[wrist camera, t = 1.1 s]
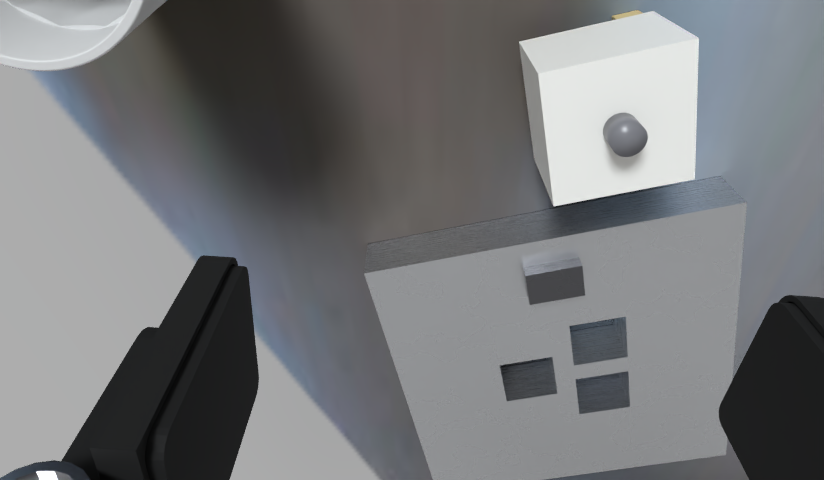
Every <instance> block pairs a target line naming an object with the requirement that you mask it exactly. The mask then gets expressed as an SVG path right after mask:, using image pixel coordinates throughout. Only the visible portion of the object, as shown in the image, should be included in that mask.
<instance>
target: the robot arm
mask: <svg viewBox="0 0 824 480" xmlns="http://www.w3.org/2000/svg"><path fill="white" fill-rule="evenodd" d="M258 380H259V375H258V364H257V355H256V345H255V335H254V325H253V315H252V305H251V296H250V286H249V276H248V270H247V267H244V266H238V264H237V261H236V259H235V258H233V257H218V256H201V257H200V258H199V259H198V261H197V262H196V264H195V266H194V268H193V269H192V271H191V273H190V274H189V276H188V278H187V280H186V281H185V283H184V285H183V287H182V288H181V290H180V292H179V294H178V296H177V297H176V299H175V301H174V303H173V304H172V306H171V307H170V309H169V311H168V313H167V315H166V316H165V318H164V320H163V321H162V323H161V325H160V327H159V328H153V327H147V328H145V329H144V330H142V331H141V333H140V334H139V335H138V337H137V338H136V340H135V342H134V343H133V345H132V346H131V348H130V350H129V351H128V353H127V354H126V356H125V358H124V360H123V361H122V363H121V364H120V366H119V368H118V369H117V371H116V373H115V374H114V376H113V377H112V379H111V381H110V382H109V384H108V386H107V387H106V389H105V391H104V392H103V394H102V395H101V397H100V399H99V400H98V402H97V404H96V405H95V407H94V409H93V410H92V412H91V414H90V415H89V417H88V418H87V420H86V422H85V423H84V425H83V427H82V428H81V430H80V431H79V433H78V435H77V436H76V438H75V440H74V441H73V443H72V445H71V446H70V448H69V449H68V451H67V453H66V454H65V456H64V458H63V459H62V461H55V460H54V461H46V462H38V463H33V464H30V465H28V466H24V467H21V468H18V469H16V470H14V471H12V472H10V473H8V474H6V475H5V476H3V477H1V478H0V480H229V479H230V476H231V473H232V470H233V467H234V464H235V461H236V458H237V454H238V451H239V448H240V445H241V442H242V439H243V436H244V432H245V429H246V426H247V423H248V420H249V417H250V414H251V411H252V407H253V404H254V401H255V398H256V395H257V390H258V382H259V381H258ZM719 420H720V424H721V426H722V428H723V430H724V432H725V434H726V436H727V438H728V439H729V441H730V443H731V445H732V447H733V449H734V451H735V453H736V455H737V457H738V459H739V460H740V462H741V464H742V466H743V468H744V470H745V472H746V474H747V476H748V478H749V479H750V480H824V298H820V297H808V296H794V295H789V296H785V297H783V298H782V299H781V300H780V301H779V302H778V303H774V304H773V305H771V307H770V308H769V310H768V312H767V314H766V316H765V318H764V320H763V322H762V324H761V325H760V327H759V329H758V331H757V333H756V335H755V337H754V339H753V341H752V343H751V345H750V347H749V349H748V351H747V353H746V355H745V357H744V359H743V361H742V363H741V365H740V367H739V368H738V370H737V372H736V374H735V376H734V378H733V380H732V382H731V384H730V386H729V388H728V390H727V392H726V394H725V396H724V398H723V400H722V402H721V404H720V407H719Z"/></svg>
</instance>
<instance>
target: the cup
mask: <svg viewBox="0 0 824 480" xmlns="http://www.w3.org/2000/svg"><path fill="white" fill-rule="evenodd" d="M166 1H167V0H0V64H1V65H5V66H9V67H13V68H18V69H24V70H33V71H56V70H64V69H70V68H74V67H78V66H81V65H84V64H87V63H89V62H92V61H94V60H96V59H98V58H100V57H101V56H103V55H104V54H106V53H107V52H109V51H110V50H112V49H113V48H114V47H115V46H116V45H117V44H119V43H120V42H121V41H122V40H123V39H124V38H125V37H126V36H127V35H129V34H130V33H131V32H132V31H133V30H134V29H135V28H136V27H137V26H139V25H140V24H141V23H142V22H143V21H144V20H145V19H146V18H148V17H149V16H150V15H151V14H152V13H153V12H154V11H155V10H156V9H158V8H159V7H160V6H161V5H162V4H164V3H165V2H166Z"/></svg>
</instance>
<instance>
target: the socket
mask: <svg viewBox="0 0 824 480" xmlns="http://www.w3.org/2000/svg"><path fill="white" fill-rule="evenodd" d="M746 208H747V202H746V201H745V200H744V199H743V198H742V197H741V196H740V195H739V194H738V193H737V192H736V191H735V190H734V189H733V188H732V187H731V186H730V185H729V184H728V183H727V182H726V181H725V180H724V179H723V178H722V177H721V176H719V177H714V178H709V179H703V180H698V181H693V182H688V183H683V184H677V185H672V186H667V187H662V188H657V189H651V190H646V191H641V192H636V193H631V194H625V195H620V196H615V197H610V198H605V199H599V200H594V201H589V202H584V203H579V204H573V205H568V206H563V207H558V208H553V209H547V210H542V211H537V212H532V213H527V214H521V215H516V216H511V217H506V218H501V219H495V220H490V221H485V222H480V223H475V224H469V225H464V226H459V227H454V228H449V229H443V230H438V231H433V232H428V233H423V234H417V235H412V236H407V237H402V238H397V239H391V240H386V241H381V242H376V243H371V244H368V248H367V256H366V264H365V271H364V274H365V277H366V280H367V283H368V286H369V289H370V292H371V295H372V298H373V301H374V304H375V307H376V310H377V313H378V316H379V319H380V322H381V325H382V328H383V331H384V334H385V337H386V340H387V343H388V346H389V349H390V352H391V355H392V358H393V361H394V364H395V367H396V370H397V373H398V376H399V379H400V382H401V385H402V388H403V391H404V394H405V397H406V400H407V403H408V406H409V409H410V412H411V415H412V418H413V421H414V424H415V427H416V430H417V433H418V436H419V439H420V442H421V445H422V448H423V451H424V454H425V457H426V460H427V463H428V466H429V469H430V472H431V475H432V478H433V480H544V479H551V478H559V477H566V476H574V475H581V474H588V473H596V472H603V471H610V470H618V469H625V468H633V467H640V466H647V465H655V464H662V463H669V462H677V461H684V460H692V459H699V458H706V457H714V456H721V455H726V448H727V436H726V434H725V432H724V430H723V428H722V426H721V424H720V420H719V407H720V404H721V402H722V400H723V398H724V396H725V394H726V392H727V390H728V388H729V386H730V384H731V382H732V376H733V364H734V352H735V340H736V328H737V316H738V304H739V292H740V280H741V268H742V256H743V244H744V232H745V220H746ZM608 319H613V324H612V325H606V326H600V327H594V328H588V329H582V330H576V331H570V327H569V326H573V325H578V324H584V323H590V322H596V321H602V320H608ZM542 358H548V360H545V361H539V362H533V363H526V364H520V365H514V366H508V367H502V368H501V365H505V364H511V363H517V362H524V361H530V360H536V359H542Z"/></svg>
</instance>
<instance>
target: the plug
mask: <svg viewBox="0 0 824 480" xmlns="http://www.w3.org/2000/svg"><path fill="white" fill-rule="evenodd" d="M519 46H520V54H521V61H522V69H523V77H524V85H525V92H526V100H527V108H528V116H529V123H530V131H531V139H532V146H533V154H534V160H535V162H536V165H537V167H538V170H539V172H540V175H541V177H542V180H543V182H544V184H545V187H546V189H547V192H548V194H549V197H550V199H551V202H552V204H553V206H559V205H564V204H569V203H574V202H579V201H584V200H590V199H595V198H600V197H605V196H610V195H616V194H621V193H626V192H631V191H636V190H642V189H647V188H652V187H657V186H662V185H668V184H673V183H678V182H683V181H688V180H693V179H695V154H696V119H697V85H698V50H699V38H698V37H696V36H694V35H693V34H691V33H689V32H688V31H686V30H684V29H683V28H681V27H679V26H678V25H676V24H674V23H672V22H671V21H669V20H667V19H666V18H664V17H662V16H661V15H659V14H657V13H656V12H654V11H651V12H647V13H642V12H640V11H639V10H636V11H631V12H627V13H623V14H618V15H614V16H612V21H608V22H603V23H599V24H594V25H590V26H586V27H581V28H577V29H573V30H568V31H564V32H560V33H555V34H551V35H546V36H542V37H538V38H533V39H529V40H525V41H520V42H519Z"/></svg>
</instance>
